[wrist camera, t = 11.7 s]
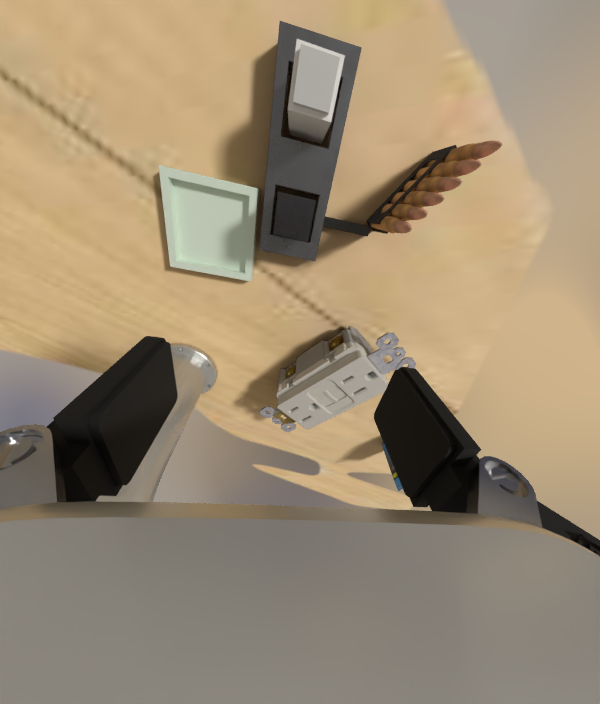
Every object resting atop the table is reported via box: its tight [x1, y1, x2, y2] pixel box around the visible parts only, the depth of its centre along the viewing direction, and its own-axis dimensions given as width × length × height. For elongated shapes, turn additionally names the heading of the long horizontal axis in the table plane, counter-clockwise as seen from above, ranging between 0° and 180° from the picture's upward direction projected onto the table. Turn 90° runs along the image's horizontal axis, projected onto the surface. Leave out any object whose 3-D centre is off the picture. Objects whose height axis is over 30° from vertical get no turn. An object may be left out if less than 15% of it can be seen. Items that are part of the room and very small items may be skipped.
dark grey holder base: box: [260, 21, 371, 261], centre depth 26 cm, size 20×15×9 cm
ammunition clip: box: [367, 141, 502, 234], centre depth 26 cm, size 11×2×12 cm, turn 136°
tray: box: [159, 165, 260, 281], centre depth 32 cm, size 12×12×2 cm
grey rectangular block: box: [288, 39, 345, 144], centre depth 23 cm, size 4×4×10 cm
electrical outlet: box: [260, 326, 416, 432], centre depth 43 cm, size 12×28×10 cm, turn 131°
